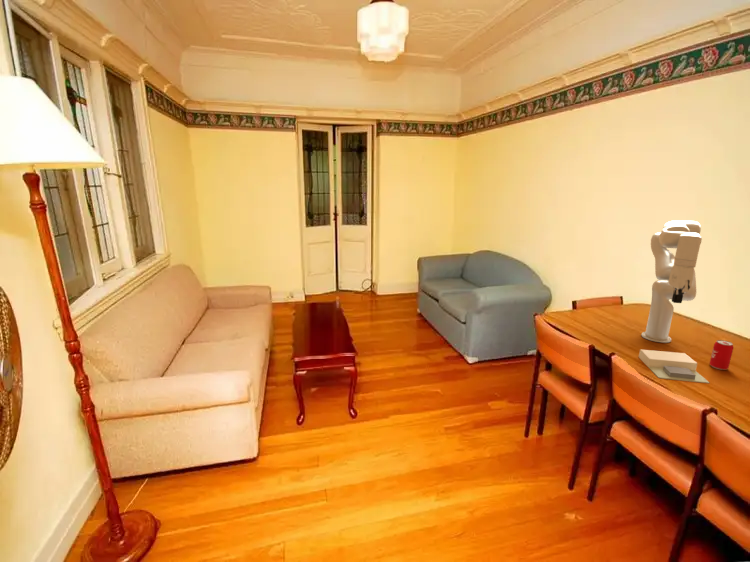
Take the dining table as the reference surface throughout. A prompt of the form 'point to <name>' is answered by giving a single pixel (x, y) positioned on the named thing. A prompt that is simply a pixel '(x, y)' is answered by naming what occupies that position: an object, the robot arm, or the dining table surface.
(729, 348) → the beverage can
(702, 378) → the mat
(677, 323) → the dining table surface
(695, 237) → the robot arm
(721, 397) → the dining table surface
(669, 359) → the block
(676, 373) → the slate coaster
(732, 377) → the dining table surface
